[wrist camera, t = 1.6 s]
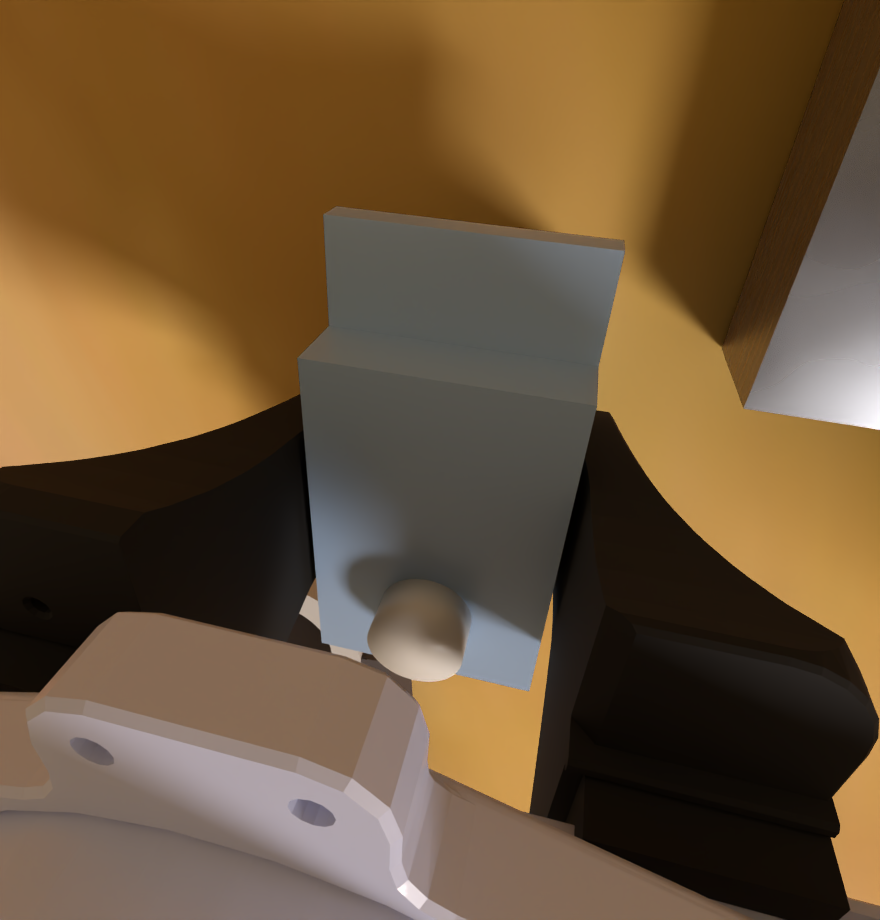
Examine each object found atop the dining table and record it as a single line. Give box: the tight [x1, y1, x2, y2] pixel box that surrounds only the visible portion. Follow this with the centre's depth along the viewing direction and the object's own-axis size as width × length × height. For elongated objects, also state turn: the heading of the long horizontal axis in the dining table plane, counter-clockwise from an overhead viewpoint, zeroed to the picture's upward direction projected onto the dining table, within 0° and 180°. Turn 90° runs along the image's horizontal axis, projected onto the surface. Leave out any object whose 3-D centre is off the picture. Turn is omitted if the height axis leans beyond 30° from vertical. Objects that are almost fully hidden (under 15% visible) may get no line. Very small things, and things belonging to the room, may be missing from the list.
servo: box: [297, 206, 625, 691], centre depth 11 cm, size 4×9×6 cm, turn 177°
